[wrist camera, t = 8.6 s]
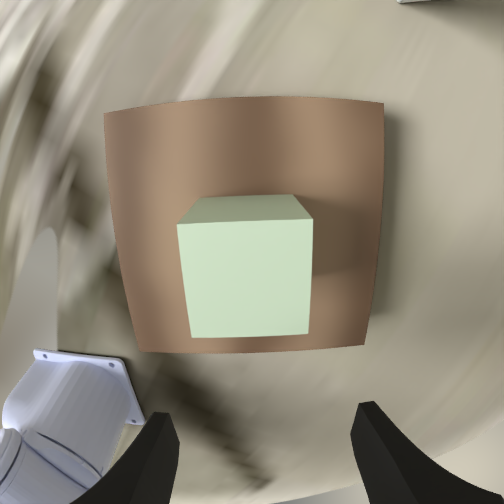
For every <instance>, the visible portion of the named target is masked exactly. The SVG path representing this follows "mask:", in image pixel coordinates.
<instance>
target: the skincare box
mask: <svg viewBox="0 0 504 504" xmlns="http://www.w3.org/2000/svg"><path fill="white" fill-rule="evenodd" d="M416 1H429V0H397V2H398V3H405V2H416Z"/></svg>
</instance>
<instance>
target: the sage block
mask: <svg viewBox="0 0 504 504" xmlns="http://www.w3.org/2000/svg"><path fill="white" fill-rule="evenodd" d="M177 233H178V242H179V251H180V259H181V267H182V275H183V283H184V290H185V297H186V304H187V311H188V317H189V324H190V330H191V336H192V338H222V337H259V336H281V335H298V334H308V329H309V314H310V296H311V274H312V246H313V218H312V217H311V216H310V215H309V213H308V212H307V211H306V210H305V209H304V207H303V206H302V205H301V204H300V203H299V201H298V200H297V199H296V198H295V197H294V195H293V194H284V195H251V196H227V197H207V198H199V199H198V200H197V201H196V202H195V203H194V205H193V206H192V207H191V208H190V209H189V210H188V212H187V213H186V214H185V215H184V216H183V217H182V219H181V220H180V221H179V222H178V223H177Z"/></svg>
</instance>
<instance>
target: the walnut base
mask: <svg viewBox="0 0 504 504" xmlns="http://www.w3.org/2000/svg"><path fill="white" fill-rule="evenodd" d="M104 131H105V149H106V163H107V174H108V185H109V194H110V203H111V211H112V218H113V225H114V232H115V239H116V245H117V251H118V257H119V262H120V268H121V273H122V278H123V283H124V288H125V293H126V297H127V302H128V306H129V311H130V315H131V319H132V323H133V327H134V331H135V335H136V339H137V343H138V347H139V350H140V351H144V352H166V353H259V352H282V351H299V350H313V349H326V348H337V347H347V346H357V345H364V343H365V338H366V333H367V327H368V322H369V316H370V310H371V303H372V297H373V290H374V283H375V275H376V267H377V259H378V250H379V240H380V229H381V216H382V201H383V181H384V103H378V102H369V101H359V100H348V99H335V98H318V97H281V96H270V97H233V98H216V99H202V100H191V101H181V102H172V103H164V104H157V105H150V106H143V107H137V108H130V109H125V110H119V111H114V112H109V113H104ZM284 194H293V195H294V197H295V198H296V199H297V200H298V201H299V203H300V204H301V205H302V206H303V207H304V209H305V210H306V211H307V212H308V213H309V215H310V216H311V217H312V218H313V246H312V274H311V296H310V314H309V329H308V334H298V335H281V336H259V337H222V338H192V336H191V330H190V324H189V317H188V311H187V304H186V297H185V290H184V283H183V275H182V267H181V259H180V251H179V242H178V233H177V223H178V222H179V221H180V220H181V219H182V217H183V216H184V215H185V214H186V213H187V212H188V210H189V209H190V208H191V207H192V206H193V205H194V203H195V202H196V201H197V200H198V199H199V198H207V197H227V196H251V195H284Z"/></svg>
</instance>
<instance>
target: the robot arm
mask: <svg viewBox="0 0 504 504" xmlns="http://www.w3.org/2000/svg"><path fill="white" fill-rule="evenodd" d="M33 353H34V356H35V358H36V360H35V362H34V363H33V364H32V365H31V367H30V368H29V369H28V371H27V372H26V373H25V374H24V376H23V377H22V378H21V380H20V381H19V382H18V384H17V385H16V386H15V388H14V389H13V390H12V392H11V393H10V394H9V396H8V398H7V399H6V402H5V404H4V408H3V413H2V423H3V429H1V430H0V504H169V502H170V498H171V493H172V489H173V484H174V480H175V475H176V471H177V466H178V457H179V445H180V442H179V439H178V437H177V434H176V431H175V428H174V426H173V423H172V420H171V417H170V414H169V413H161V412H154V413H152V415H151V416H150V418H149V419H148V421H147V422H146V424H145V425H144V427H143V428H142V430H141V431H140V433H139V434H138V435H137V437H136V438H135V440H134V441H133V442H132V444H131V445H130V446H129V447H128V449H127V450H126V451H125V453H124V454H123V455H122V456H121V457H120V459H119V460H118V461H117V462H116V463H115V464H114V466H113V467H112V468H111V469H110V470H109V467H110V464H111V461H112V459H113V456H114V453H115V450H116V447H117V444H118V441H119V439H120V436H121V433H122V430H123V427H124V425H125V423H129V424H137V425H143V424H144V423H145V419H144V416H143V414H142V411H141V409H140V406H139V404H138V401H137V398H136V396H135V393H134V390H133V387H132V385H131V382H130V379H129V376H128V373H127V370H126V367H125V364H124V362H123V361H122V360H121V359H119V358H111V357H100V356H91V355H82V354H74V353H66V352H59V351H52V350H45V349H39V348H36V349H35V350H34V352H33ZM112 363H113V364H112ZM350 435H351V441H352V446H353V451H354V456H355V459H356V462H357V465H358V468H359V471H360V474H361V477H362V480H363V483H364V486H365V489H366V492H367V495H368V498H369V502H370V504H504V499H503V498H502V496H501V495H499V494H496V493H493V492H490V491H487V490H484V489H482V488H479V487H477V486H474V485H472V484H470V483H468V482H466V481H464V480H462V479H461V478H459V477H457V476H455V475H453V474H452V473H450V472H449V471H447V470H446V469H444V468H442V467H441V466H439V465H438V464H437V463H436V462H434V461H433V460H432V459H430V458H429V457H428V456H427V455H425V454H424V453H423V452H422V451H421V450H420V449H419V448H418V447H416V446H415V445H414V444H413V443H412V442H411V441H410V440H409V439H408V438H407V437H406V436H405V435H404V434H403V433H402V432H401V431H400V430H399V429H398V428H397V427H396V426H395V424H394V423H393V422H392V421H391V420H390V419H389V418H388V417H387V415H386V414H385V413H384V412H383V411H382V410H381V409H380V407H379V406H378V405H377V404H376V403H375V402H374V401H370V402H364V403H359V405H358V408H357V412H356V416H355V419H354V423H353V426H352V430H351V433H350ZM108 470H109V471H108Z"/></svg>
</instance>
